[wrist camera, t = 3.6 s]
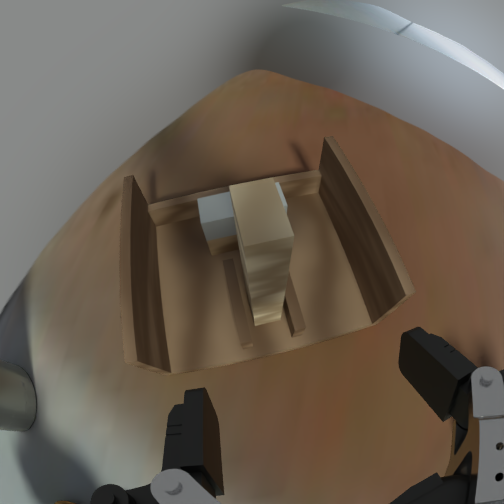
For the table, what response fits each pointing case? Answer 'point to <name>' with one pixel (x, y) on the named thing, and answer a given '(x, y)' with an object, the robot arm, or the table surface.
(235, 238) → the oak offcut
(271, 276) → the tan wooden bar
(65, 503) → the yellow stuffed toy
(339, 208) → the brown wooden tray
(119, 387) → the table surface
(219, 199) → the grey offcut
